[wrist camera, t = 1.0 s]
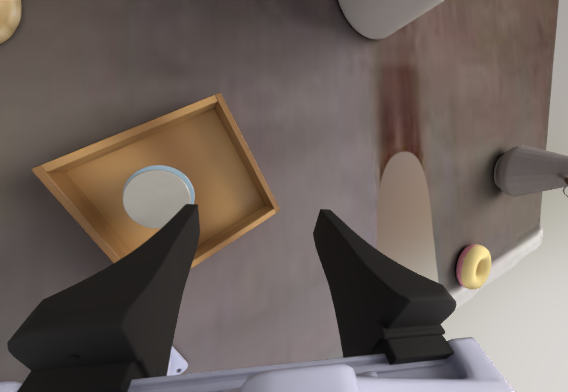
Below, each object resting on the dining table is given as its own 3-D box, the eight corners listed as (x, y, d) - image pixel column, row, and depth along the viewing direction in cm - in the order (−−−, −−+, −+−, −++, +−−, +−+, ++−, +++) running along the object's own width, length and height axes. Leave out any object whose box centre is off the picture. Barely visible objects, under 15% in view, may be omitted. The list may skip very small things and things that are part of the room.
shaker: (160, 216, 22) (145, 246, 14) (132, 178, 20) (97, 186, 12) (200, 194, 23) (208, 210, 15) (176, 157, 22) (171, 152, 14)
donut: (467, 240, 53) (452, 244, 47) (493, 243, 49) (479, 248, 44) (468, 282, 52) (453, 290, 47) (494, 288, 48) (481, 298, 43)
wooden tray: (150, 280, 23) (144, 299, 19) (57, 168, 19) (30, 169, 15) (269, 205, 27) (280, 210, 24) (215, 102, 23) (220, 92, 20)
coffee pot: (515, 143, 52) (631, 135, 39) (512, 189, 54) (620, 197, 41) (464, 156, 44) (588, 152, 30) (463, 210, 46) (578, 228, 33)
